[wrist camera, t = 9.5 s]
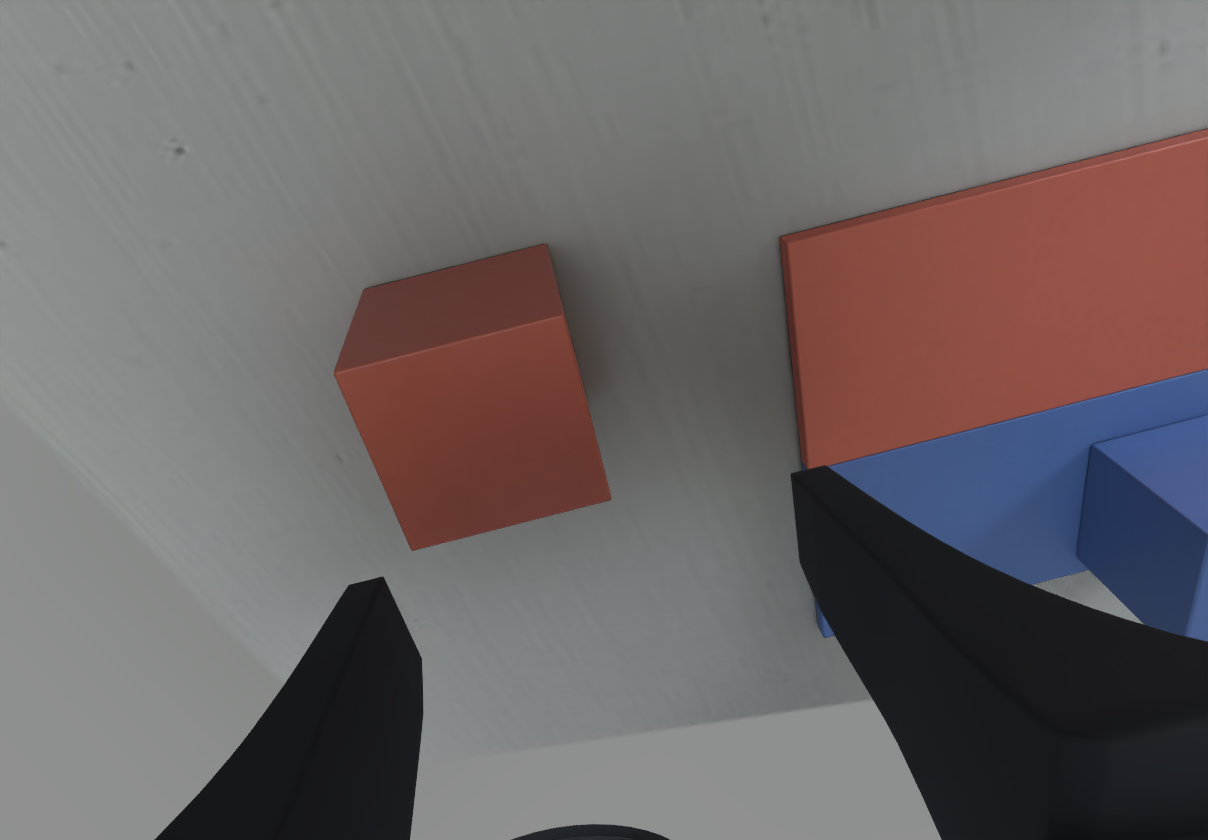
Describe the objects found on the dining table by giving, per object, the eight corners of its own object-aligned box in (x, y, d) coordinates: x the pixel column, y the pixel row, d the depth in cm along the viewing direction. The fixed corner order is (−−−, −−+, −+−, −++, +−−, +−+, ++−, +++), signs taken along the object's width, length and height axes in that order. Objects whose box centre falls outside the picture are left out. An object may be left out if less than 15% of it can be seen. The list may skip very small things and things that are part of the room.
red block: (587, 402, 22) (612, 500, 18) (423, 444, 22) (411, 552, 18) (546, 242, 19) (564, 314, 15) (362, 289, 19) (331, 372, 15)
